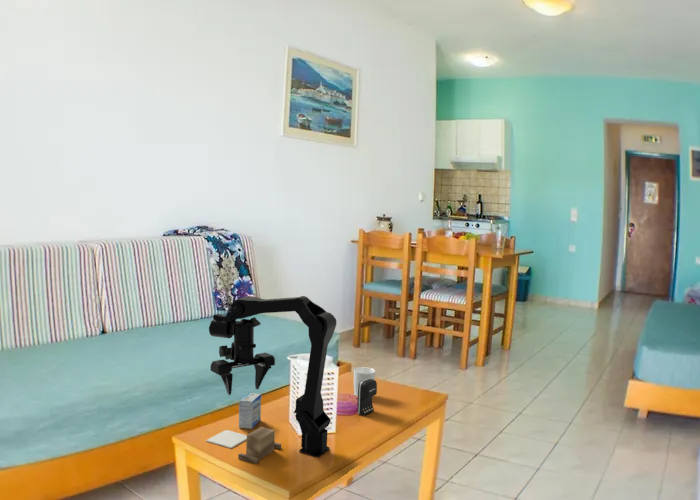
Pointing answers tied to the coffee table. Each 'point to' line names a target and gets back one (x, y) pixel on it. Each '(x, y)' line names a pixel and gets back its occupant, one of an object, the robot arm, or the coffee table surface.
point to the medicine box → (249, 410)
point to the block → (260, 442)
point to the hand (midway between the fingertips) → (243, 391)
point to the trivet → (228, 439)
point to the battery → (366, 396)
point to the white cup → (362, 376)
